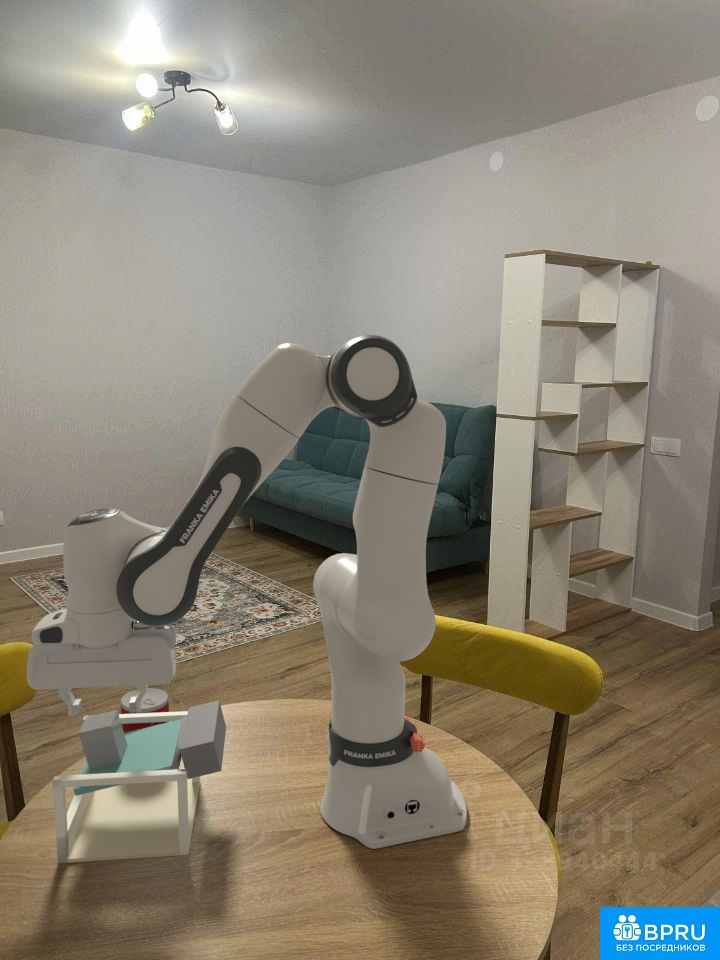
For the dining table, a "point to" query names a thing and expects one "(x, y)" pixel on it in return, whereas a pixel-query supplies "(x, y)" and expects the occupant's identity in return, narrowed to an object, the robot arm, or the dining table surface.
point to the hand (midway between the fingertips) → (105, 712)
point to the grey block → (103, 739)
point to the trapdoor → (172, 746)
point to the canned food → (145, 707)
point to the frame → (126, 810)
